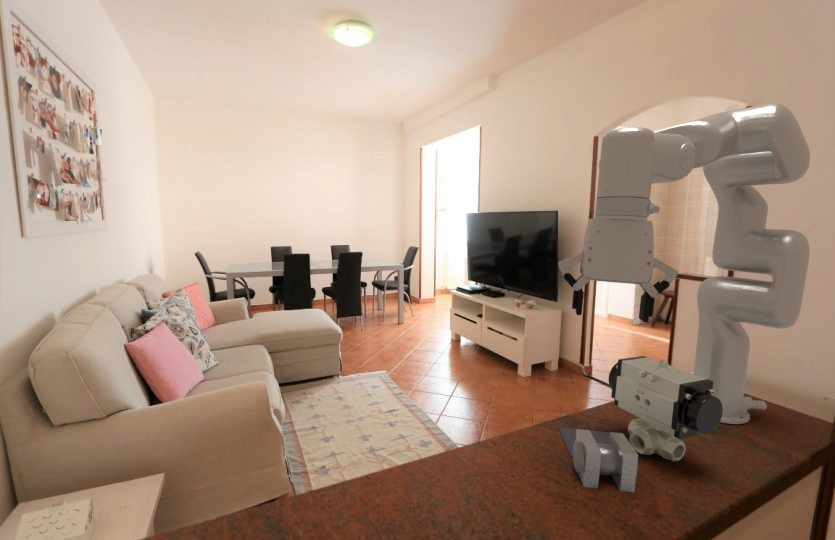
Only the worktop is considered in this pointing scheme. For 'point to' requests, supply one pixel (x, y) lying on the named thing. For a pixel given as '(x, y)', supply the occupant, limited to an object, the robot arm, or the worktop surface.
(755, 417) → the worktop surface
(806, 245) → the robot arm
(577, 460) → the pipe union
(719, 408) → the ball valve
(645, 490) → the worktop surface
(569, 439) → the joint mat
